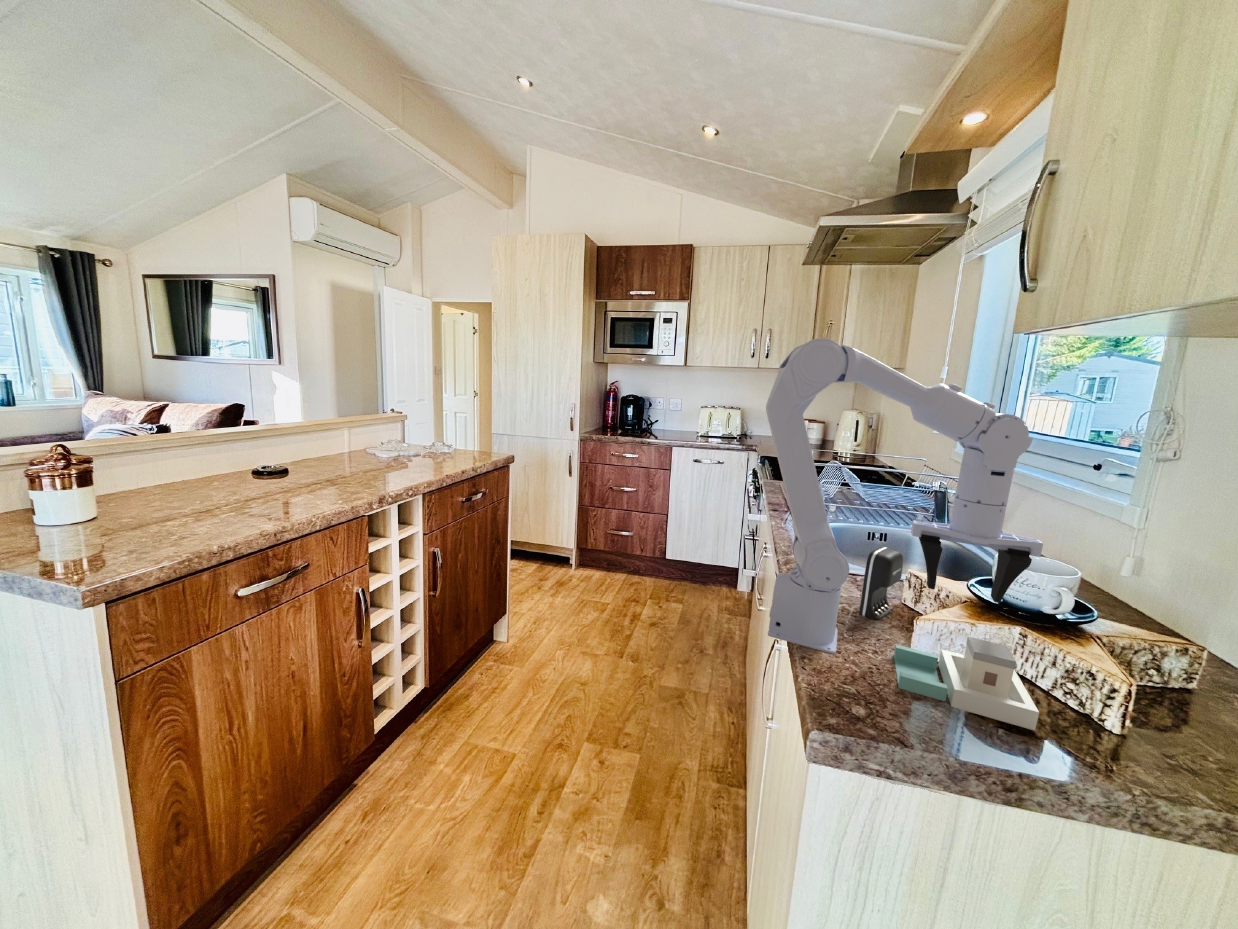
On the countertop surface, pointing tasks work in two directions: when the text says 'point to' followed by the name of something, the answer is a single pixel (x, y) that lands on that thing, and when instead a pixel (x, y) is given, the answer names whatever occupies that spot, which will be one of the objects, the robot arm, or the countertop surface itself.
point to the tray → (987, 696)
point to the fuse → (987, 667)
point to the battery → (879, 581)
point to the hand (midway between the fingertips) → (962, 593)
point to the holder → (918, 672)
